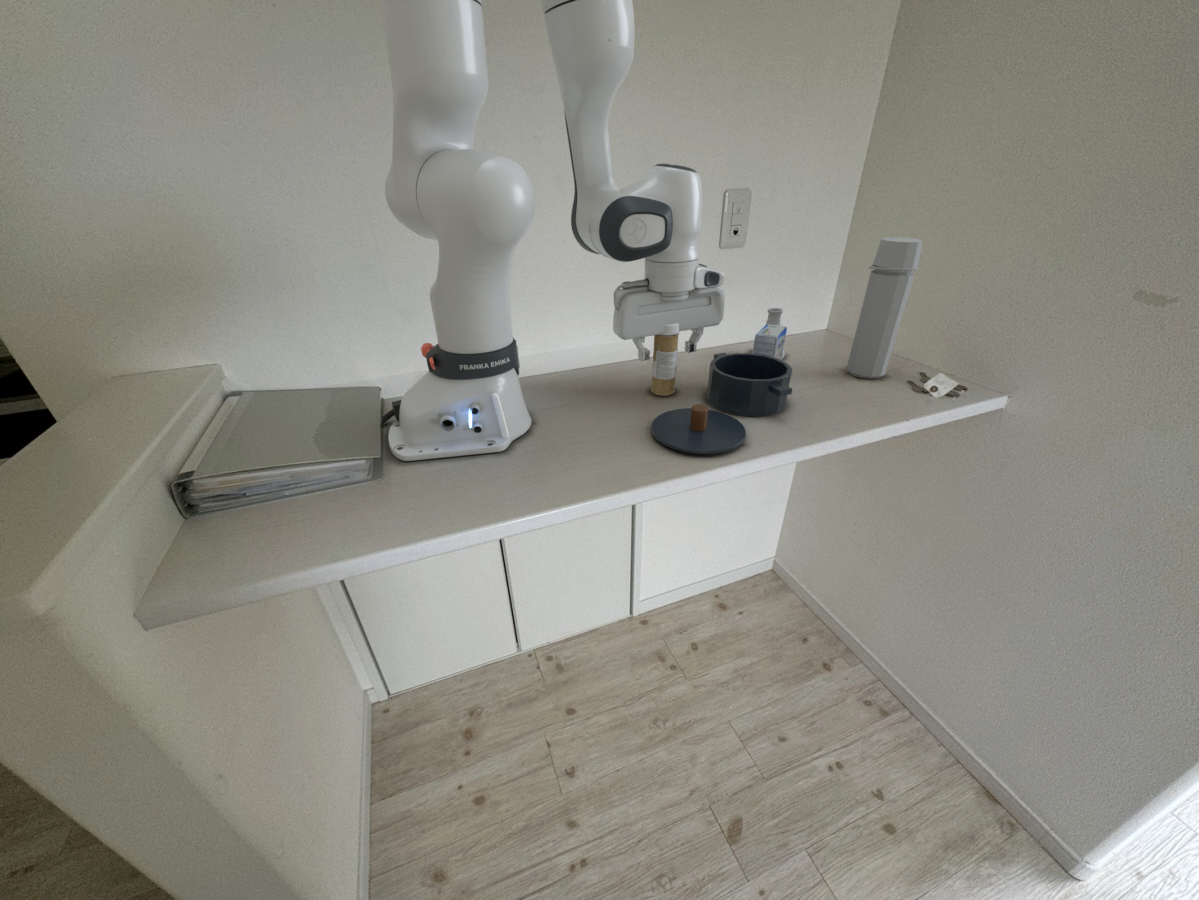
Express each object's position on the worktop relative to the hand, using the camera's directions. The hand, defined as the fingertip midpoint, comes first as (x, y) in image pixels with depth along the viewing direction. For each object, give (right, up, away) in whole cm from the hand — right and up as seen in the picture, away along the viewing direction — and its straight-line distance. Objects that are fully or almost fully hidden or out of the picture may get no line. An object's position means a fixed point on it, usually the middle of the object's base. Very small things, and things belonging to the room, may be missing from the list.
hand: (667, 355), depth 90 cm
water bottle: (+41, -1, +11) cm, 43 cm away
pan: (+14, -8, 0) cm, 16 cm away
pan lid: (+3, -14, -11) cm, 18 cm away
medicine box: (+22, -1, +12) cm, 25 cm away
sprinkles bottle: (0, -6, +3) cm, 7 cm away
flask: (+25, +4, +20) cm, 33 cm away
